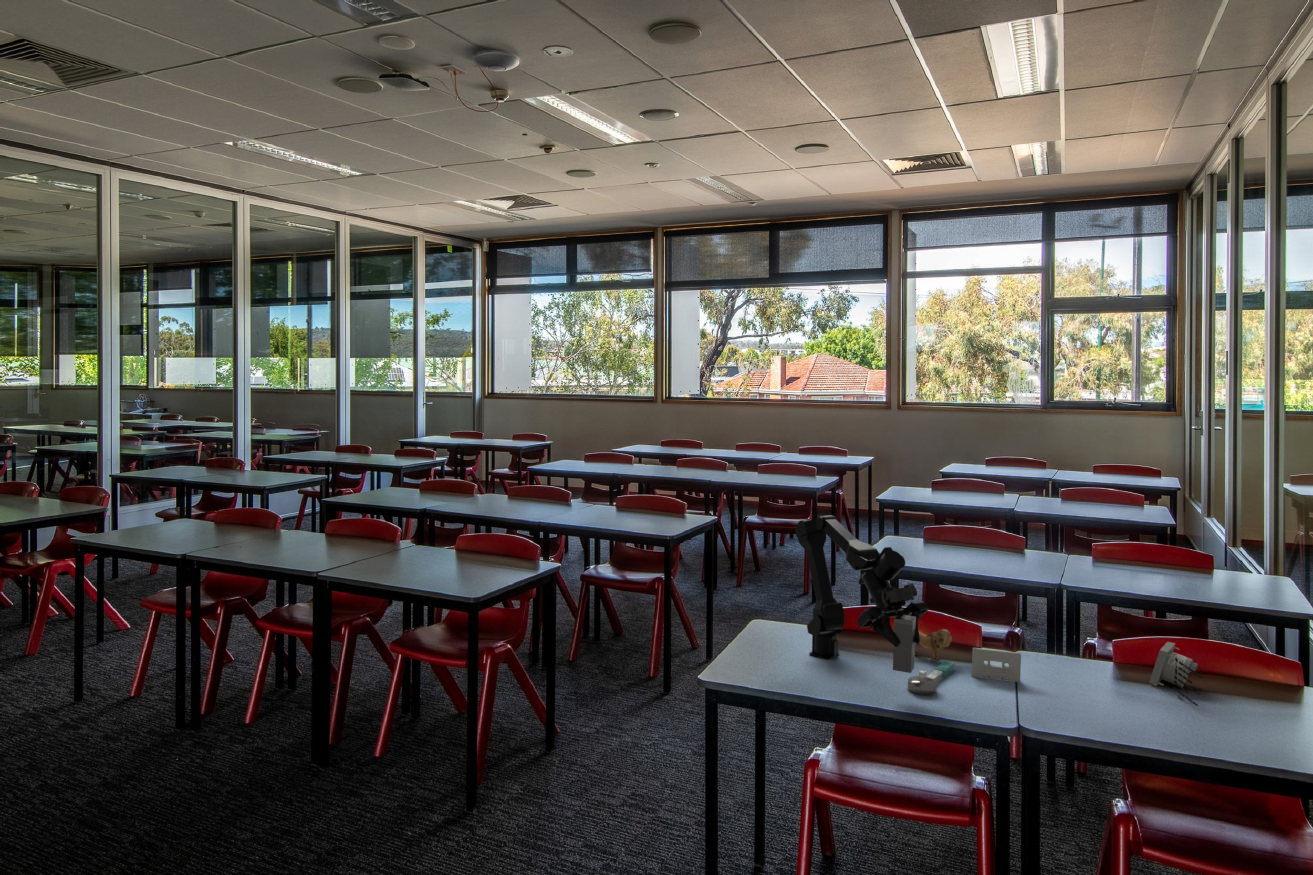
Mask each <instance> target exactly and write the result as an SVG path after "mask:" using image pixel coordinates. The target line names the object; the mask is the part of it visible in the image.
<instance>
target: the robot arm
mask: <svg viewBox="0 0 1313 875" xmlns="http://www.w3.org/2000/svg"><path fill="white" fill-rule="evenodd" d="M794 531H795V534H796V537H797V540H798V543H799V545H800V546H801V548H803V549H804V551H805V552H806V556H807V562H808V567H809V571H810V576H811V580H812V586H813V590H814V596H815V603H814V607H813V609H812V617H813V618H811V621H810V622H809V623H807V625H806V629H807V634H810V635H811V636H812V638H811V651H810V652H808V653H809V655H810V656H812V657H813V656H814V657H818V658H821V659H826V660H831V659H833V658H835V657H836V656H838V655H840V652H839V640H838V635H841V634H842V633H843V630H844V629H843V628H844V626H845V623H846V619H845V618H846V615H845V611H844V606H843V604H842V602H838V601H837V600H836V599H835V598H834V593H833V589H832V584H831V580H830V574H829V570H828V564H827V561H826V560H827V559H826V553H825V551H824V547H825V544H826V542H827V538H829V539H831V540H832V541H833V542H834V544H836V545H837V546H838V547H839V548H840V549H841V550H842V551H843V552H844V553H845V559H846V561H847V562H848V564H849V565H850V567H851V568H852V569H853V570H855V571H865V570H866V571H865V572H864V573H860V577H859V579H858V584H859V585H865V587H866V588H867V591H868V593H869V594H870V596H871V598H870V599H869V602H870V603H871V604H874V605H875V606H872V607H866V608H865V609H864V610H863V611H862V612H861V613H860V614H859V615H858V617H857V623H858V626H859V628H860V629H865V628H869V630H870V631H874V632H876V633H877V634H878V635H879V636H881V637H882V638H884V639H885V640H886V641H888V642H889V643H890V644H892V646H893V647H894V646H895V647H898V646H899V643H898V640H897V638H896V636H895V634H894V628H893V627H892V625H891V618H892V619H893V618H894V619H895V617H896V616H897V615H898V614H899V615H907V616H914V617H916V629H915V642H916V643H917V644H916V645H918V644H919V643H920V637H919V631H920V630H919V620H920V619H921V618H922V617H923V616H924V615H925V614H926V613H927V612H928V611H929V607H928V605H927V604H926V602H925V601H924V600H923V601H922V600H920V601H918V600H917V601H913V600H915V598H914V597H917V596H918V591H917V588H916V587H915V585H914V583H908V584H904V585H903V587H898V588H897V587H896V586H892V585H891V583H890V581H892V580H894V578H895V577H896V576H897V575H899V573H900V572H901V571H902V570H903V568H905V567H906V559H905V558H904V556H903V555H901V554H900V553H899V552H897V551H896V550H893V548H892V546H888V547H887V546H886V547H883V548H882V550H881V551H880V552H879V551H878V549H877V548H876V547H874V546H872V545H871V544H869V543H867V542H864V541H861V540H860V539H857V538H856V536H854V535H853V533H851V532H850V531H849V530H848V529H847V528H846V527H845V526H844V525H843V524H842V523H841V522H839V521H838V519H837V517H836V516H834V515H832V514H831V515H829V514H828V515H820V516H817V517H815V518H813V519H805V520H799V521H798V522H797V524H796V525H795V529H794ZM908 601H912V602H910V603H909V604H908V605H907V606H906V607H904V608H903V606H905V605H906V604H907V602H908Z"/></svg>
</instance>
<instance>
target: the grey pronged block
mask: <svg viewBox="0 0 1313 875" xmlns="http://www.w3.org/2000/svg"><path fill="white" fill-rule="evenodd" d="M1175 645H1176V643H1175V642H1171V641H1167V642H1166V643H1165V644H1164V645H1163V646H1162V647H1161V648H1160V650H1159V651H1158V655H1157V658H1156V661H1155V664H1154V666H1153V670H1152V672H1151V676H1150V679H1149V681H1148V682H1149V684H1150V685H1152V686H1154V687H1157V686H1158V685H1160V686H1163V687H1164V683H1162V682H1161V681H1162V680H1163V681H1164V682H1167V683H1170V684H1173V685H1175V686H1173V691H1174V692H1177V693H1178V694H1177V695H1176V696H1177V698H1178V699H1179V700H1181V701H1183V700H1184V698H1185V699H1186V700H1188V701H1189V702H1190V703H1191V704H1193V705H1194V706H1196V707H1198V703H1196V702H1195V701H1193V700H1192V699H1191V698H1189V697H1188V696H1186V694H1187V695H1189V690H1191V691H1192V692H1193V693H1195V694H1197V695H1198V696H1200V695H1201V694H1200V693H1199V692H1198V691H1197V690H1196V689H1195V688H1193V687H1191V686H1190V685H1188V684H1187V683H1189V684H1193V680H1191V679H1189V678H1188V677H1190V672H1191V673H1193V674H1195V675H1196V676H1198V677H1199V678H1200V679H1203V676H1202V675H1201V674H1200V673H1199V672H1197V668H1198V666H1199V663H1196V662H1194V660H1193V658H1190V657H1187V656H1185V655H1183V654H1179V653H1178V652H1174V649H1175V650H1178V651H1180V648H1179V647H1176V646H1175ZM1186 682H1187V683H1186ZM1184 686H1185V687H1186V688H1187V689H1188V690H1187V689H1185V687H1184ZM1177 688H1179V689H1181V690H1182V691H1184V693H1186V694H1184V693H1183V692H1181V691H1180V690H1177ZM1181 696H1182V697H1184V698H1182V697H1181Z"/></svg>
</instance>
